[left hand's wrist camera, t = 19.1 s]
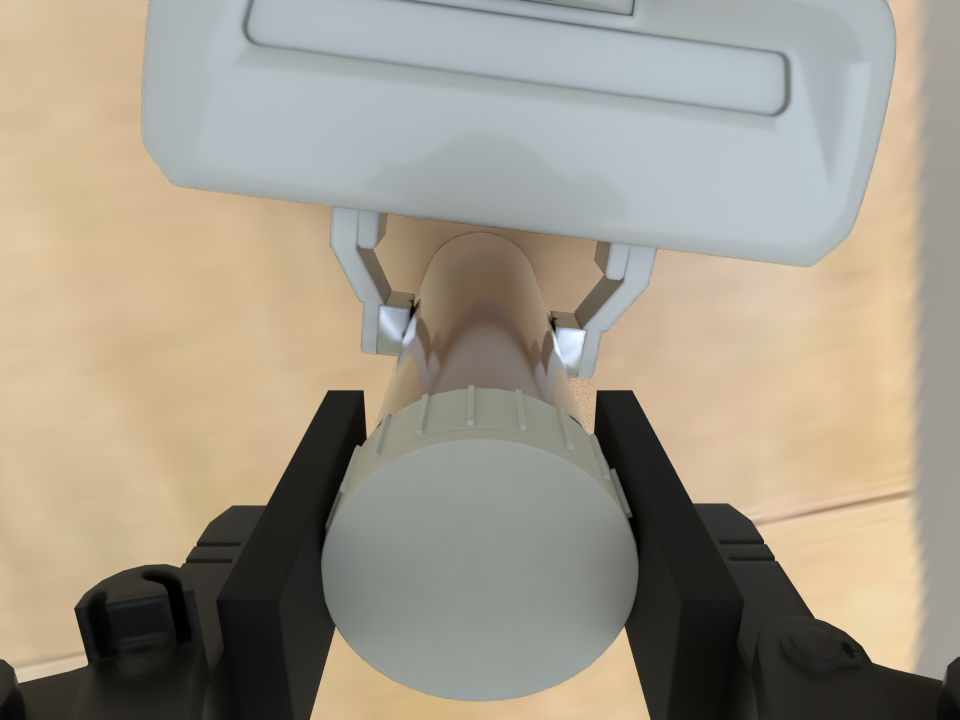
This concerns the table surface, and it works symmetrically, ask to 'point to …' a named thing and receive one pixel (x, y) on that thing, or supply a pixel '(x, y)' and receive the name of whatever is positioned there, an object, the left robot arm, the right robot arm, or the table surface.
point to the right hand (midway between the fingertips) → (477, 361)
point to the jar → (480, 329)
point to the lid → (479, 547)
